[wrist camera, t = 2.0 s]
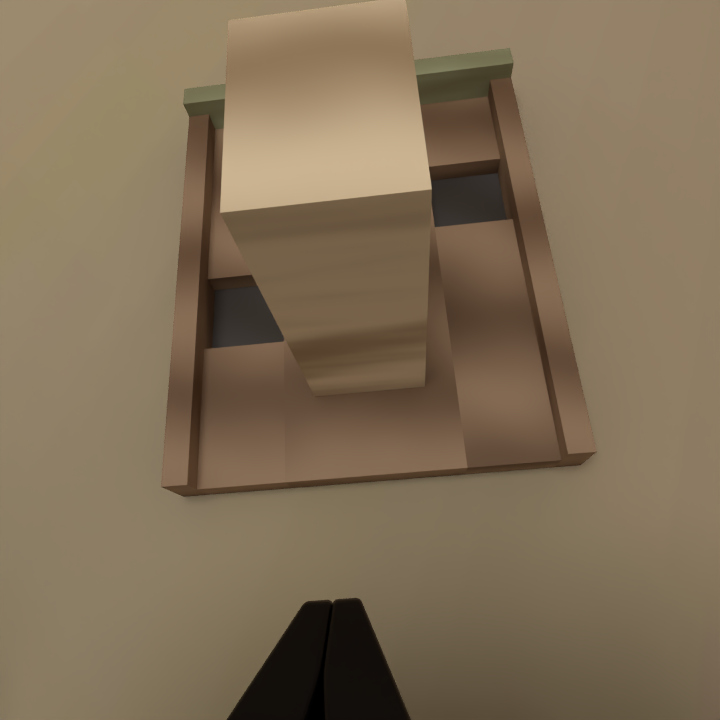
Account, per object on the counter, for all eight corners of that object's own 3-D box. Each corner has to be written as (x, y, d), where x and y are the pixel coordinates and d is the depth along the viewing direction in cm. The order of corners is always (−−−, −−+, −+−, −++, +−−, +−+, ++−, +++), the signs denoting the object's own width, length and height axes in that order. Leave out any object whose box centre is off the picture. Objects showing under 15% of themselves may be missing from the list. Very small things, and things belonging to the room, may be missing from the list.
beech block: (424, 386, 23) (432, 189, 12) (314, 396, 23) (219, 212, 12) (410, 260, 25) (404, -4, 14) (310, 270, 25) (228, 20, 14)
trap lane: (580, 464, 22) (603, 446, 19) (183, 496, 23) (151, 482, 20) (501, 98, 30) (510, 48, 27) (205, 134, 31) (184, 88, 28)
